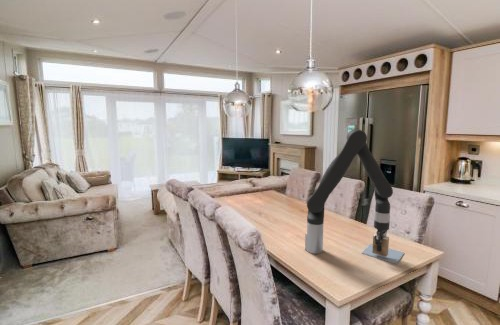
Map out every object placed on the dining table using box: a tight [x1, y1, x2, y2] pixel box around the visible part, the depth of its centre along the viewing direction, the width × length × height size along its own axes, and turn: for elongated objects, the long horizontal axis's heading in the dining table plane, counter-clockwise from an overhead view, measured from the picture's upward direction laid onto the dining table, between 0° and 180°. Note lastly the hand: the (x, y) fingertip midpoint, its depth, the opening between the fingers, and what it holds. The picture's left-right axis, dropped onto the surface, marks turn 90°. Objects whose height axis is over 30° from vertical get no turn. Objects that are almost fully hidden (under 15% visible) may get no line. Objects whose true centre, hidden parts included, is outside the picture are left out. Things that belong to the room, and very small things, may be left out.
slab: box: [372, 233, 390, 257], centre depth 144 cm, size 7×4×10 cm, turn 48°
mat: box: [361, 243, 405, 265], centre depth 150 cm, size 18×16×1 cm
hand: (380, 249), depth 145 cm, fingers closed on slab, 3 cm apart
